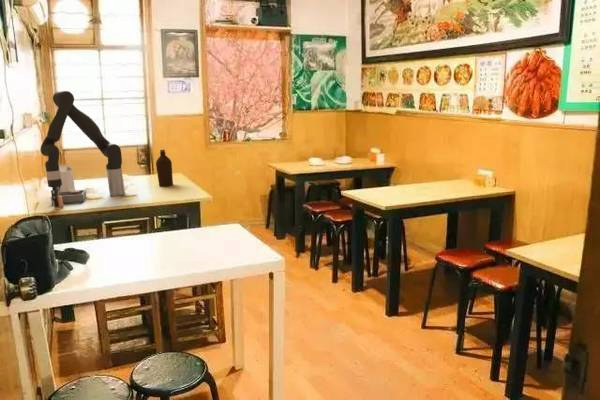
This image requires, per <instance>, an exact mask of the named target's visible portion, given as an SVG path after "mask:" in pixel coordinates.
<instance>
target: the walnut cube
mask: <svg viewBox="0 0 600 400" xmlns="http://www.w3.org/2000/svg"><path fill="white" fill-rule="evenodd" d="M80 190H81V189H75V190H74V191H71V192H70V193H71V195H78V194H81V191H80Z"/></svg>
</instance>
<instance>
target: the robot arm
mask: <svg viewBox="0 0 600 400" xmlns="http://www.w3.org/2000/svg"><path fill="white" fill-rule="evenodd" d="M52 101H53V103H54V105H55V106H56V107H57V110H56V113H55V116H54V117H53V118H52V120H51V122H50V124H49V127H48V129H47V133H46V136H45V138H44V140H43V142H42V143H41V146H40V152H41V153H40V154H41V155H43V156H45V157H47V160H46V161H44V162H45V163H44V166H45V172H46V181H47V187H48V188H51V190H50V194H51V196H52V200H53V201H54V205H55V207H59V203H58V197H59V195H62V194H61V188H60V186H62V180H61V174H60V170H59V165H60V164H59V161H60V150H59V147H58V146H57V145H56V143H58V142H59V141H60V139H61V137H62V133H63V129H64V126H65V123H66V120H67V118H68V117H69V118H70V120H71V121H72V122H73V123H74V124H75V125H76V127H78V128H79V129H80V130H81V132H82V133H83V134H84V135H85V136H86V137H87V138H89V140H90V141H91V142H93V143H94V145H95V146H96V147H97V148H98V149H99V151H100V153H101V154H102V155H103V156H104V157H106V158H107V163H106V165H105V169H106V176H107V184H108V190H109V191H108V192H109V196H112V197H117V196H118V197H119V196H123V195H125V194H126V190H125V182H124V177H123V169H122V164H123V158H122V155H123V154H122V149H121V147H120V146H119V145H117V143H116V144H115V143H111V142H110V141H109V140H108V139H106V138H105V136H104V135H103V133H102V130H101V129H100V127H99V125H97V123H96V122H95V121H94V120H93V118H91V117H90V116H89V115H87V114H86V113H84V112H83V111H81V110H80V109H78V108H77V106H75V105H74V101H75V97H74V94H73V93H72V92H71V91H69V90H63V91H62V90H61V91H57V92H55V93H54V94H53V96H52ZM55 197H56V198H55ZM54 205H53V206H54Z"/></svg>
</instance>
